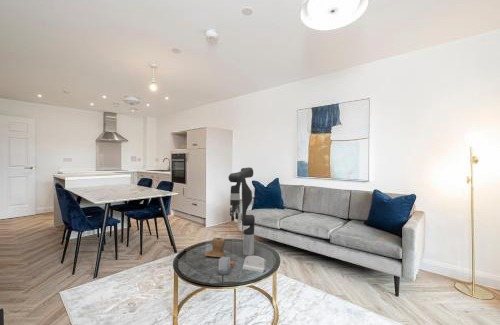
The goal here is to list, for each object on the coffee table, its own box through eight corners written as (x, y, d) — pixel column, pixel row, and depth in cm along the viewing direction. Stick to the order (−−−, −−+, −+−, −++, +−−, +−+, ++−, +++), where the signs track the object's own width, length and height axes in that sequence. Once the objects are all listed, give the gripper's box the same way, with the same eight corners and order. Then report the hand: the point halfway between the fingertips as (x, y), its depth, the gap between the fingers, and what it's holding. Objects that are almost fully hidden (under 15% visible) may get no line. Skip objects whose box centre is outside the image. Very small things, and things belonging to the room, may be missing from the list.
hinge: (242, 268, 174) (244, 254, 177) (244, 268, 178) (246, 254, 181) (263, 272, 167) (265, 257, 171) (265, 272, 171) (267, 257, 175)
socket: (226, 270, 162) (226, 260, 162) (218, 269, 164) (218, 259, 164) (230, 267, 168) (230, 257, 168) (222, 266, 170) (222, 256, 170)
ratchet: (226, 275, 161) (227, 263, 162) (217, 274, 164) (217, 262, 164) (236, 265, 179) (237, 254, 180) (228, 264, 182) (228, 253, 182)
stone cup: (226, 254, 204) (227, 236, 205) (222, 259, 192) (222, 240, 193) (210, 252, 207) (210, 235, 208) (204, 257, 195) (205, 239, 196)
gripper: (236, 200, 178) (235, 222, 177) (242, 198, 191) (242, 218, 190) (227, 199, 180) (226, 221, 179) (233, 198, 193) (233, 218, 193)
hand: (234, 220), depth 185 cm, fingers open, 8 cm apart
